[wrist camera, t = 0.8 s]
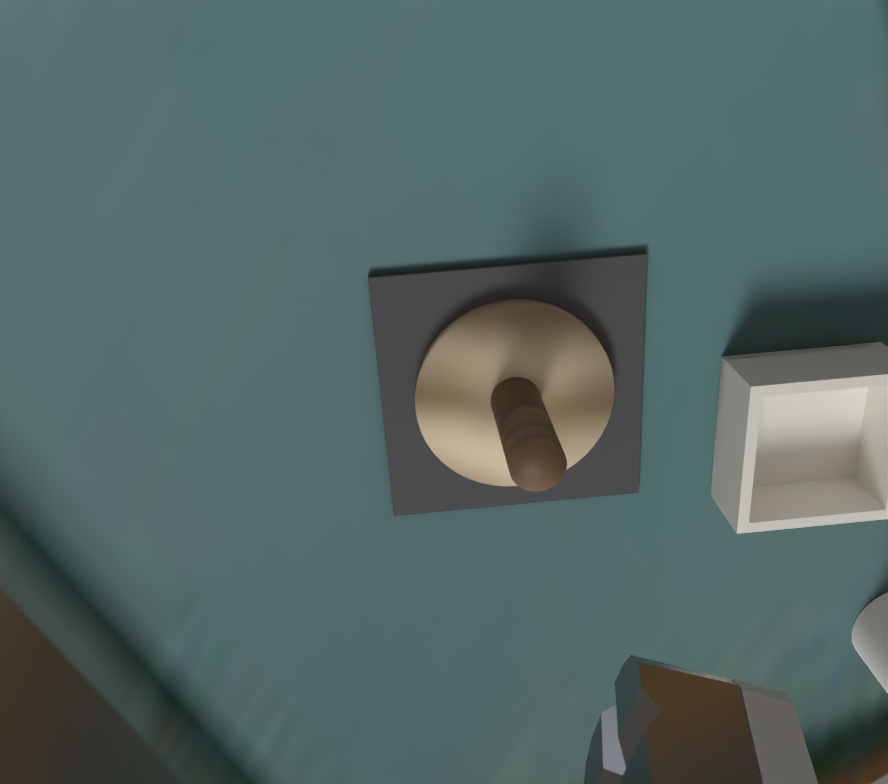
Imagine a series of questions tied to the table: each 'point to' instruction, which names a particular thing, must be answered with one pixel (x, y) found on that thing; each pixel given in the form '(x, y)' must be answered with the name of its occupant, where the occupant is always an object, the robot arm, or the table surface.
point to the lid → (514, 394)
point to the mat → (463, 289)
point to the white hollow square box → (802, 437)
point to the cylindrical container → (873, 638)
